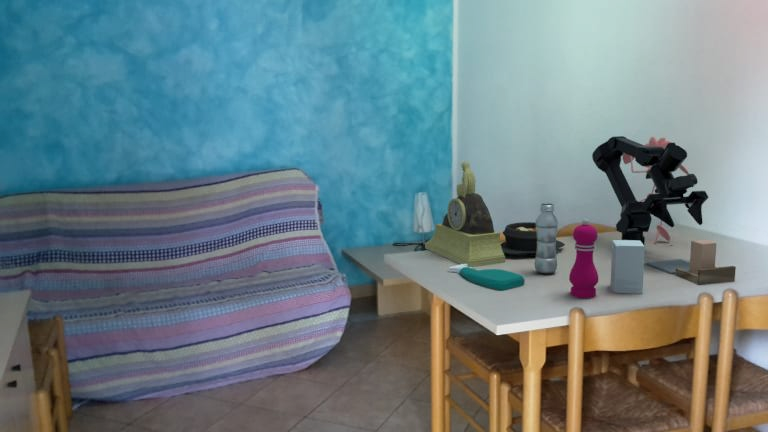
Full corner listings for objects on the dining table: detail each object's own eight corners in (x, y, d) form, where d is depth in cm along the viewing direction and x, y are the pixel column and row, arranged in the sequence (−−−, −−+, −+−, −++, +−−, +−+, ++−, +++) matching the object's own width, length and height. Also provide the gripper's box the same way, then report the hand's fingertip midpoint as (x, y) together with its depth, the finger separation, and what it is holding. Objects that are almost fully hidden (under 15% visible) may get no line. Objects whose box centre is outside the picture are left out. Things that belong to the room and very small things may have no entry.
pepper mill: (564, 291, 184) (566, 216, 181) (591, 290, 185) (594, 215, 181) (574, 299, 177) (576, 221, 174) (602, 298, 178) (605, 220, 174)
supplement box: (643, 294, 181) (645, 246, 178) (612, 293, 182) (614, 245, 180) (638, 286, 188) (641, 239, 185) (609, 285, 189) (611, 239, 187)
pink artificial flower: (676, 248, 228) (683, 139, 222) (609, 235, 248) (614, 136, 242) (702, 242, 237) (710, 137, 231) (635, 230, 257) (640, 134, 251)
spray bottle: (499, 293, 185) (440, 275, 205) (528, 285, 191) (468, 268, 211) (499, 282, 185) (440, 265, 205) (528, 275, 191) (468, 259, 211)
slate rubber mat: (645, 264, 210) (645, 262, 210) (680, 260, 213) (680, 259, 213) (671, 274, 198) (671, 272, 198) (707, 270, 201) (707, 268, 201)
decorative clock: (425, 249, 235) (424, 159, 230) (458, 244, 240) (458, 157, 235) (468, 268, 210) (468, 168, 204) (505, 262, 215) (506, 165, 209)
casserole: (518, 263, 214) (519, 236, 212) (480, 251, 230) (480, 226, 228) (578, 252, 226) (579, 226, 225) (537, 241, 242) (538, 217, 240)
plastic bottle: (558, 270, 205) (560, 202, 201) (555, 276, 198) (557, 206, 195) (535, 269, 207) (537, 201, 203) (532, 275, 200) (534, 205, 197)
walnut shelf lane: (675, 275, 197) (676, 261, 196) (709, 271, 200) (710, 258, 199) (699, 284, 188) (700, 270, 187) (734, 281, 190) (735, 266, 190)
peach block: (689, 275, 197) (691, 240, 195) (702, 274, 198) (705, 239, 196) (700, 279, 192) (702, 244, 190) (714, 278, 193) (716, 242, 192)
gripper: (649, 166, 199) (672, 211, 191) (706, 163, 204) (731, 206, 195) (632, 189, 208) (653, 233, 200) (686, 186, 213) (709, 229, 204)
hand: (687, 225), depth 199 cm, fingers open, 9 cm apart
